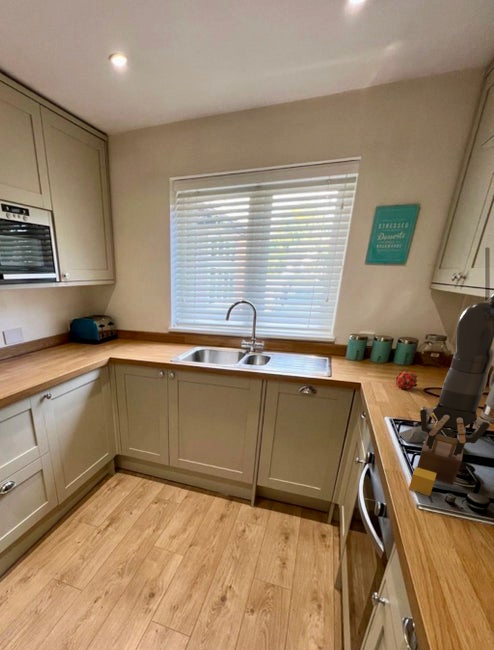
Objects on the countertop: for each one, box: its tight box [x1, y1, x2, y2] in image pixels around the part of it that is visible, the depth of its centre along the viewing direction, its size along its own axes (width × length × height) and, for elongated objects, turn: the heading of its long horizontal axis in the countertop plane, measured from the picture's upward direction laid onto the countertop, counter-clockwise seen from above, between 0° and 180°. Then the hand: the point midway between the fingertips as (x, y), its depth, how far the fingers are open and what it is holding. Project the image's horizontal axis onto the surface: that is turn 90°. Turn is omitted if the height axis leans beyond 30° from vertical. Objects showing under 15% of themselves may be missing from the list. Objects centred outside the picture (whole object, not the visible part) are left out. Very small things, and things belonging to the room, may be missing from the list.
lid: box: [420, 433, 465, 465], centre depth 87 cm, size 11×8×5 cm
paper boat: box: [397, 421, 436, 444], centre depth 106 cm, size 12×6×9 cm
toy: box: [408, 466, 437, 497], centre depth 82 cm, size 4×4×4 cm
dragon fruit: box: [394, 370, 418, 390], centre depth 155 cm, size 8×8×12 cm
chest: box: [416, 452, 461, 486], centre depth 89 cm, size 10×8×7 cm
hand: (442, 450), depth 85 cm, fingers closed on lid, 4 cm apart
